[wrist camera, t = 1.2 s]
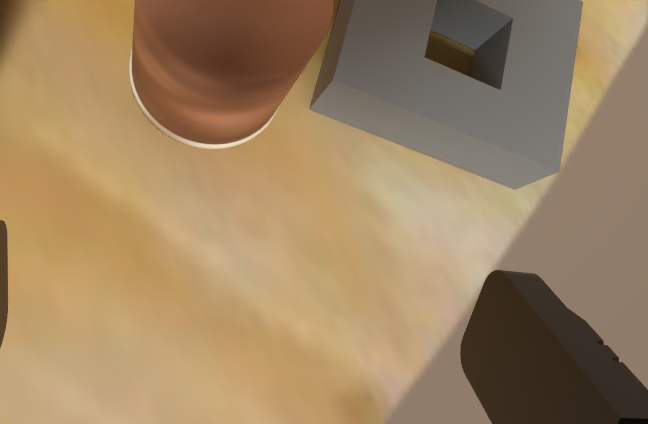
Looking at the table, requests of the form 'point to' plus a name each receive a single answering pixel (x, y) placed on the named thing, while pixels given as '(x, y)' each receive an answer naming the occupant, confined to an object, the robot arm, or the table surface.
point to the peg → (220, 64)
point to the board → (457, 80)
